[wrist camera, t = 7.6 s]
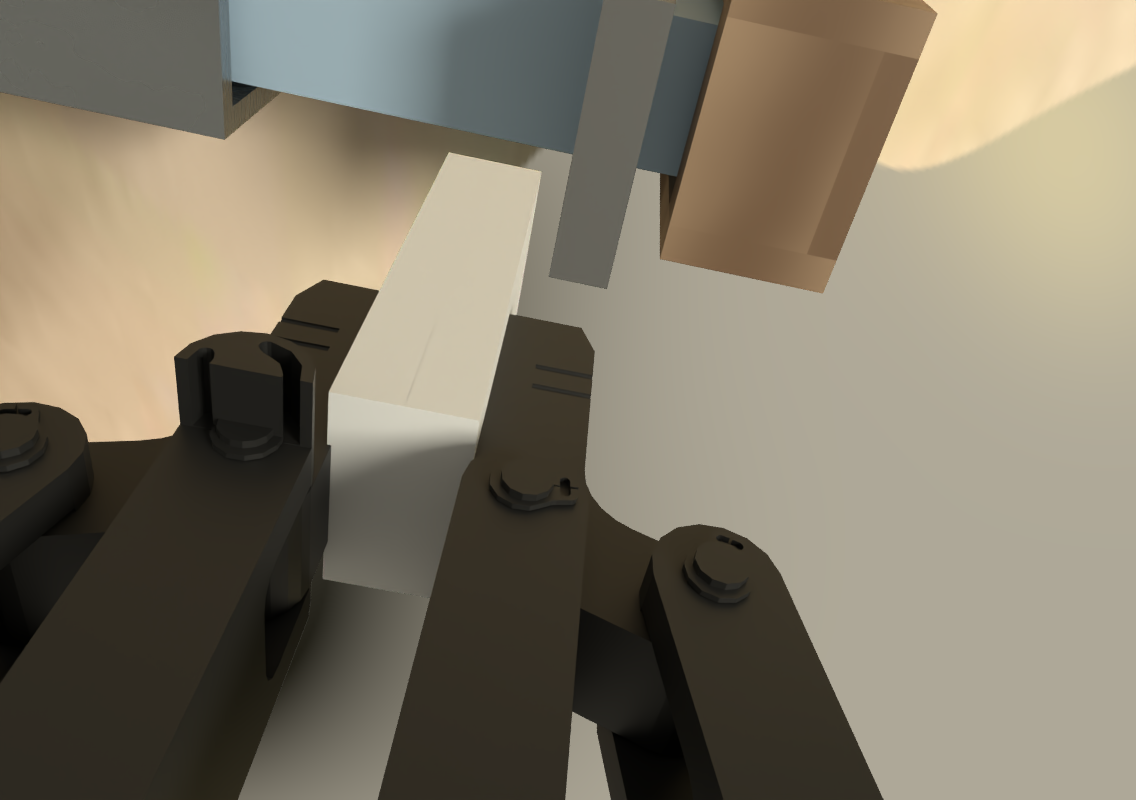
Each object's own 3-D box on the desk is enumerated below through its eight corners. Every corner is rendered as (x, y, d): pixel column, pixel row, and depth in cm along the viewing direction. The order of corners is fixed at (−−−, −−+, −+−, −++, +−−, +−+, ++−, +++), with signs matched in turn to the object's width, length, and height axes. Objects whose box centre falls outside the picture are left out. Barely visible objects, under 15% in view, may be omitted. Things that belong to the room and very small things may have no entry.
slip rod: (186, 54, 28) (3, 162, 20) (170, -183, 24) (-61, -160, 17) (735, 172, 29) (762, 321, 21) (802, -40, 25) (864, 46, 17)
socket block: (660, 164, 29) (660, 258, 24) (722, -77, 25) (740, -31, 19) (792, 192, 29) (822, 293, 24) (875, -42, 25) (937, 13, 20)
